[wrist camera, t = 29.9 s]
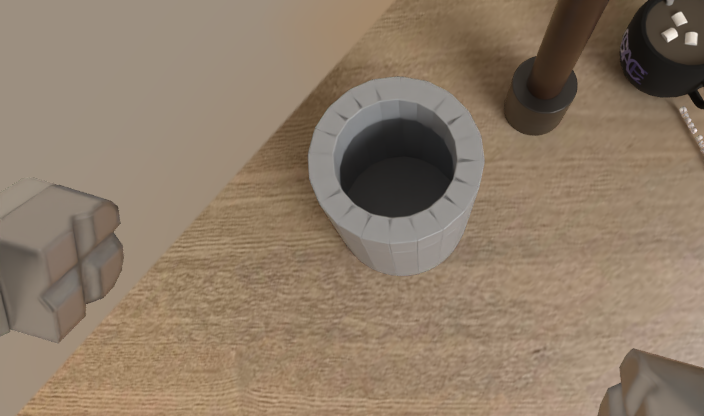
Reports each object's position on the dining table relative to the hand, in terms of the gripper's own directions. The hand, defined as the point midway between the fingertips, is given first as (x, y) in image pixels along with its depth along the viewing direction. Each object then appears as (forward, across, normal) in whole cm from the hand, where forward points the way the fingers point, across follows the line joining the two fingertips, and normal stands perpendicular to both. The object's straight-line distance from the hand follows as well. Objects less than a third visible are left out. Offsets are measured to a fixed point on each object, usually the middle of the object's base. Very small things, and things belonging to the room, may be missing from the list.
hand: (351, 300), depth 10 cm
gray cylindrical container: (+28, +2, +16) cm, 32 cm away
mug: (+37, -14, +8) cm, 40 cm away
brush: (+35, -4, +10) cm, 36 cm away
